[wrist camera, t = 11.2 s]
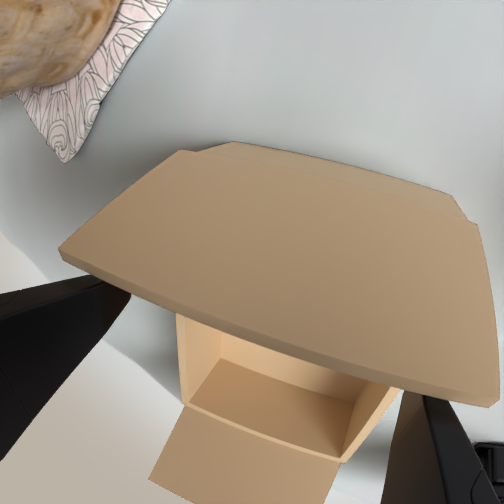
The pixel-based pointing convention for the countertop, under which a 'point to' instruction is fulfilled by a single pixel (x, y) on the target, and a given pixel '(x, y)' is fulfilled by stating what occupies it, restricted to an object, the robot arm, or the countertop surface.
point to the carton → (283, 366)
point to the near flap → (306, 271)
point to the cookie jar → (68, 59)
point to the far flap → (237, 466)
